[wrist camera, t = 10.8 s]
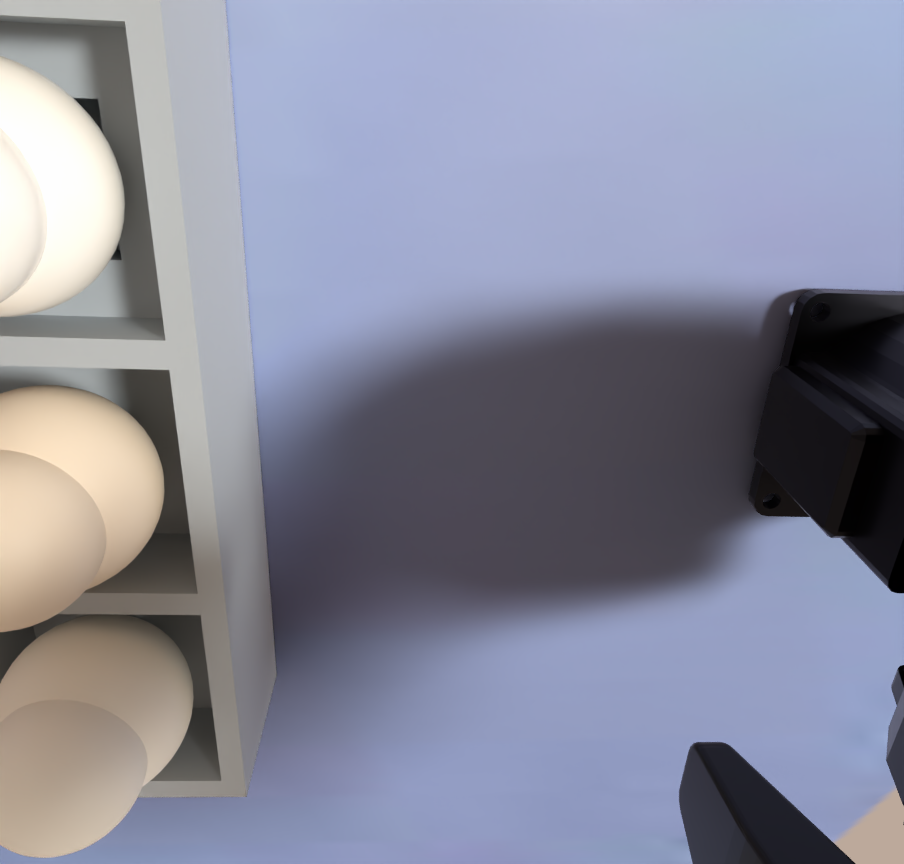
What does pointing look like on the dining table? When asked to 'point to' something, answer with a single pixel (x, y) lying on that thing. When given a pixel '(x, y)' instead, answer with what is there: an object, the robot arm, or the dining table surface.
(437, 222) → the dining table surface
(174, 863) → the dining table surface
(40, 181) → the egg
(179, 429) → the egg carton
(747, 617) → the dining table surface
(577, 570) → the dining table surface
